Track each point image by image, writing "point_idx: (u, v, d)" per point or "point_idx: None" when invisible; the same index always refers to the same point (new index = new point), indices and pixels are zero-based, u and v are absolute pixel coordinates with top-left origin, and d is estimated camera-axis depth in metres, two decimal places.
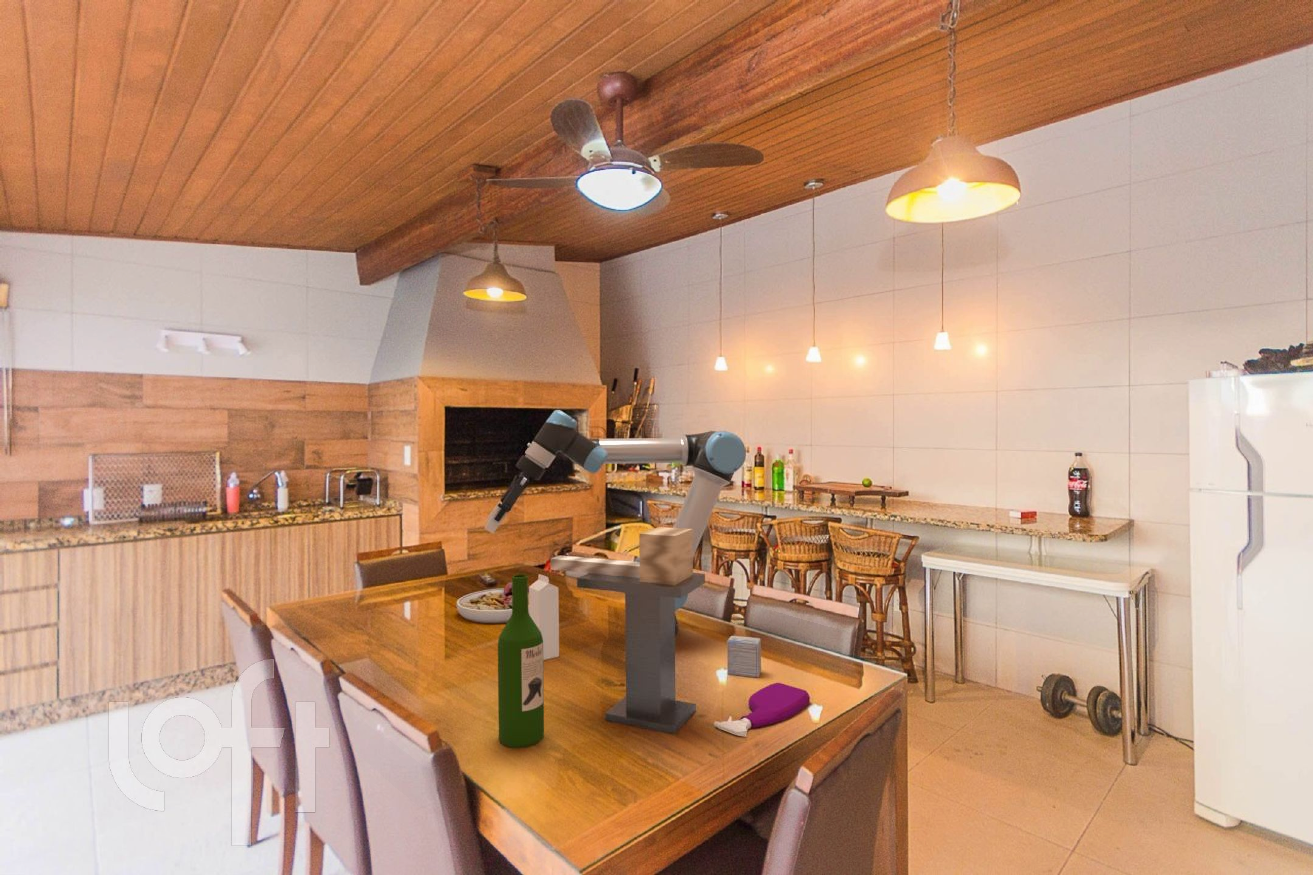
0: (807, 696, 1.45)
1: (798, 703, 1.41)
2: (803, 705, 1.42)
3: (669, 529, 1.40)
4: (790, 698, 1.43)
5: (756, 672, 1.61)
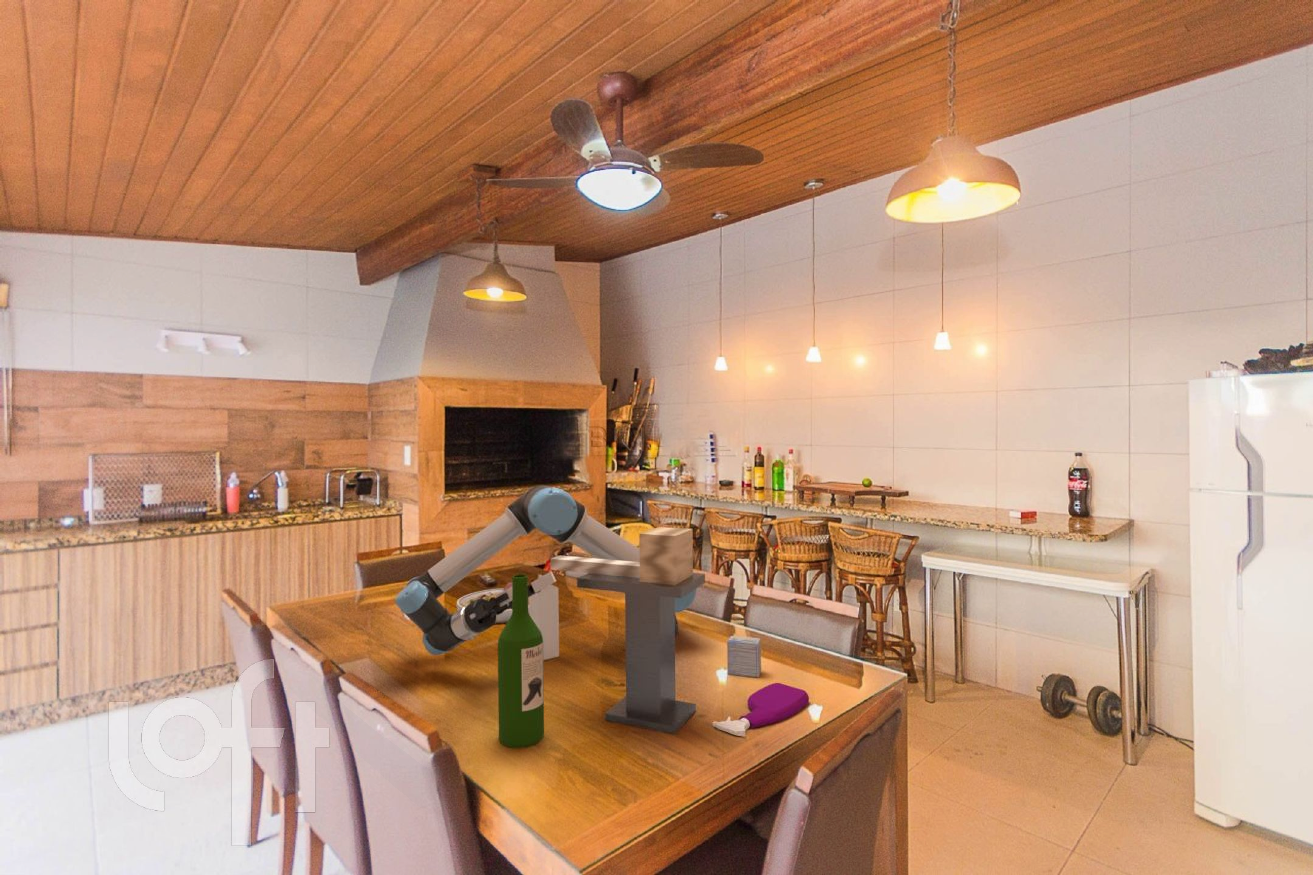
0: (806, 696, 1.45)
1: (797, 703, 1.41)
2: (802, 705, 1.42)
3: (669, 529, 1.40)
4: (789, 698, 1.43)
5: (756, 672, 1.61)
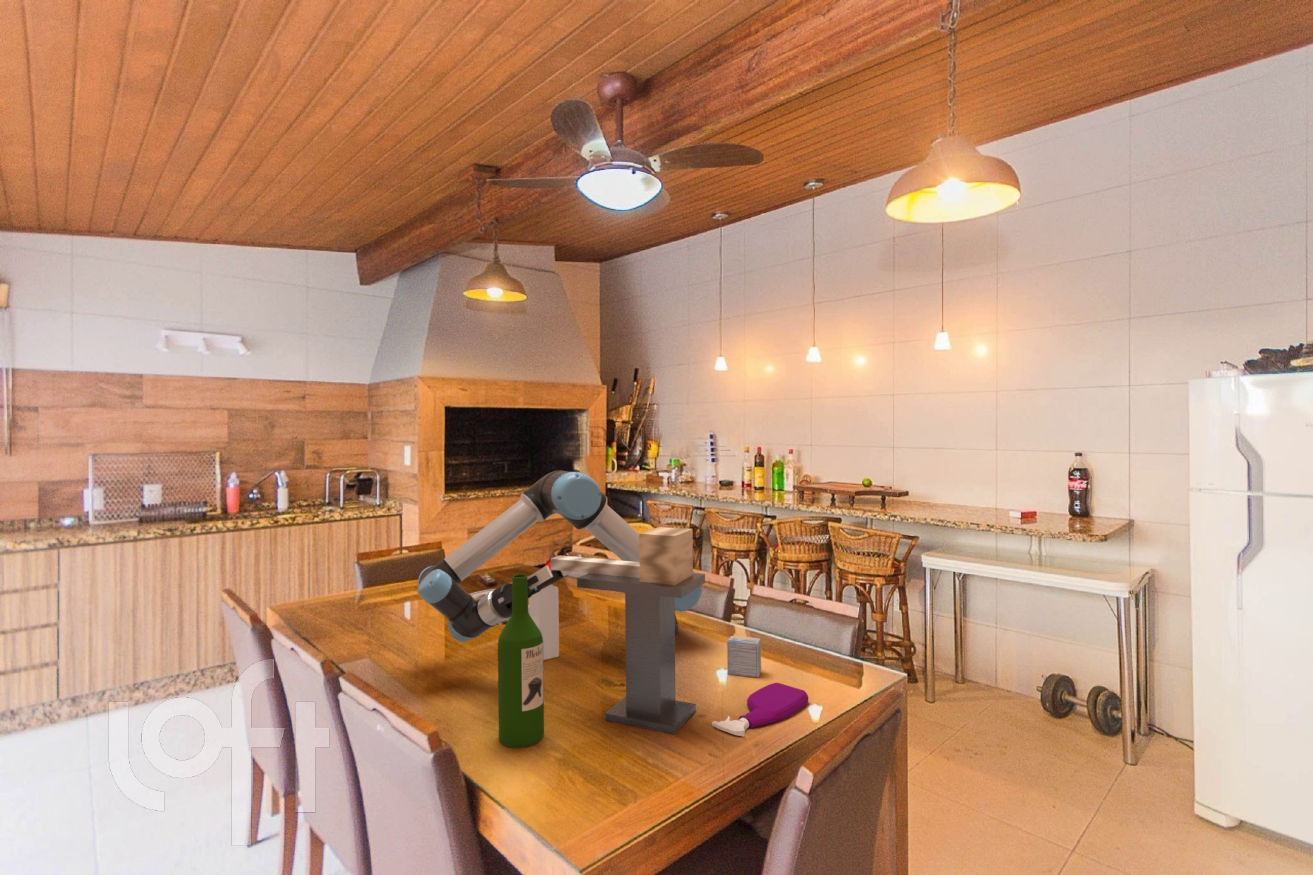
0: (806, 696, 1.45)
1: (796, 703, 1.41)
2: (801, 705, 1.42)
3: (669, 529, 1.40)
4: (788, 698, 1.43)
5: (756, 672, 1.61)
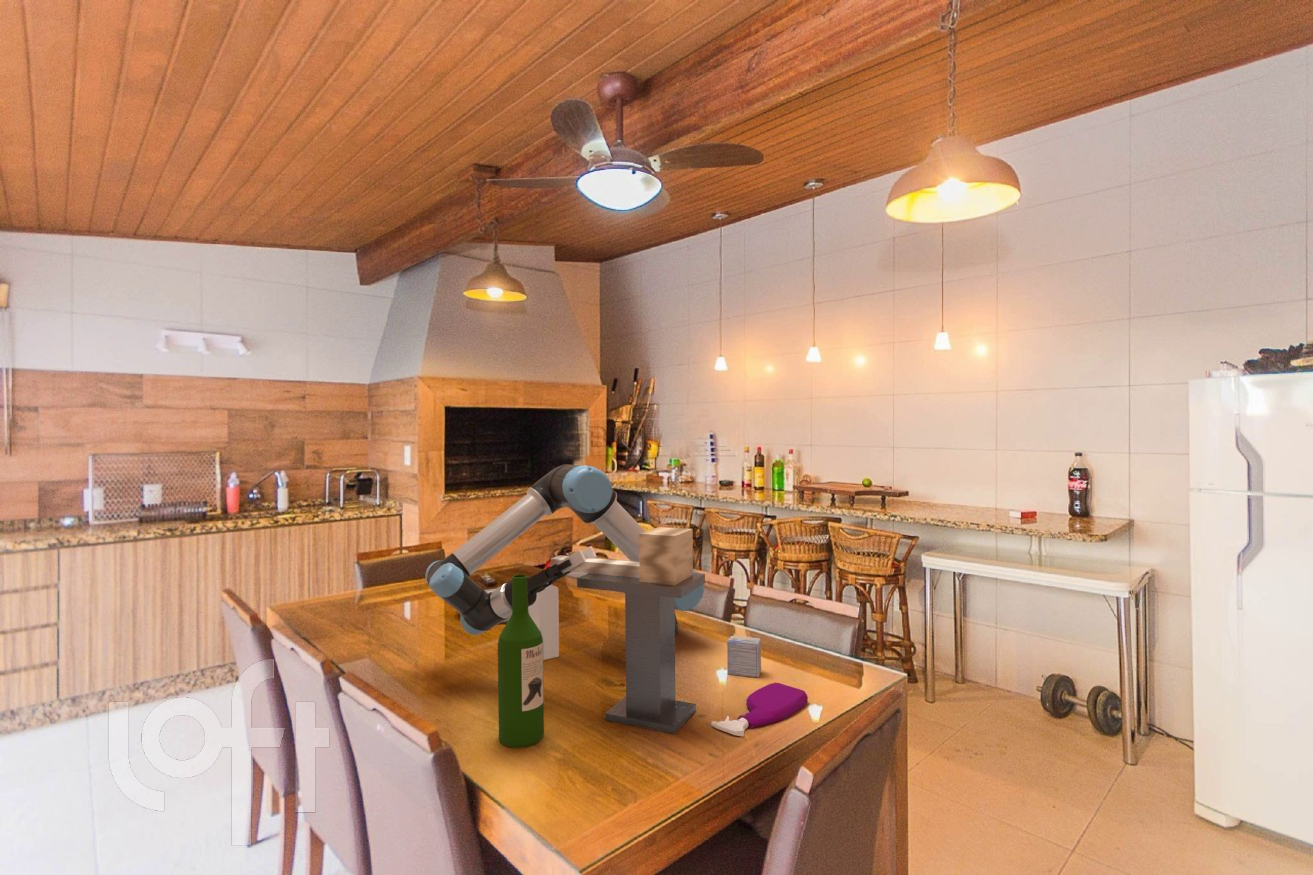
0: (805, 696, 1.45)
1: (796, 703, 1.41)
2: (801, 705, 1.42)
3: (669, 529, 1.40)
4: (788, 698, 1.43)
5: (756, 672, 1.61)
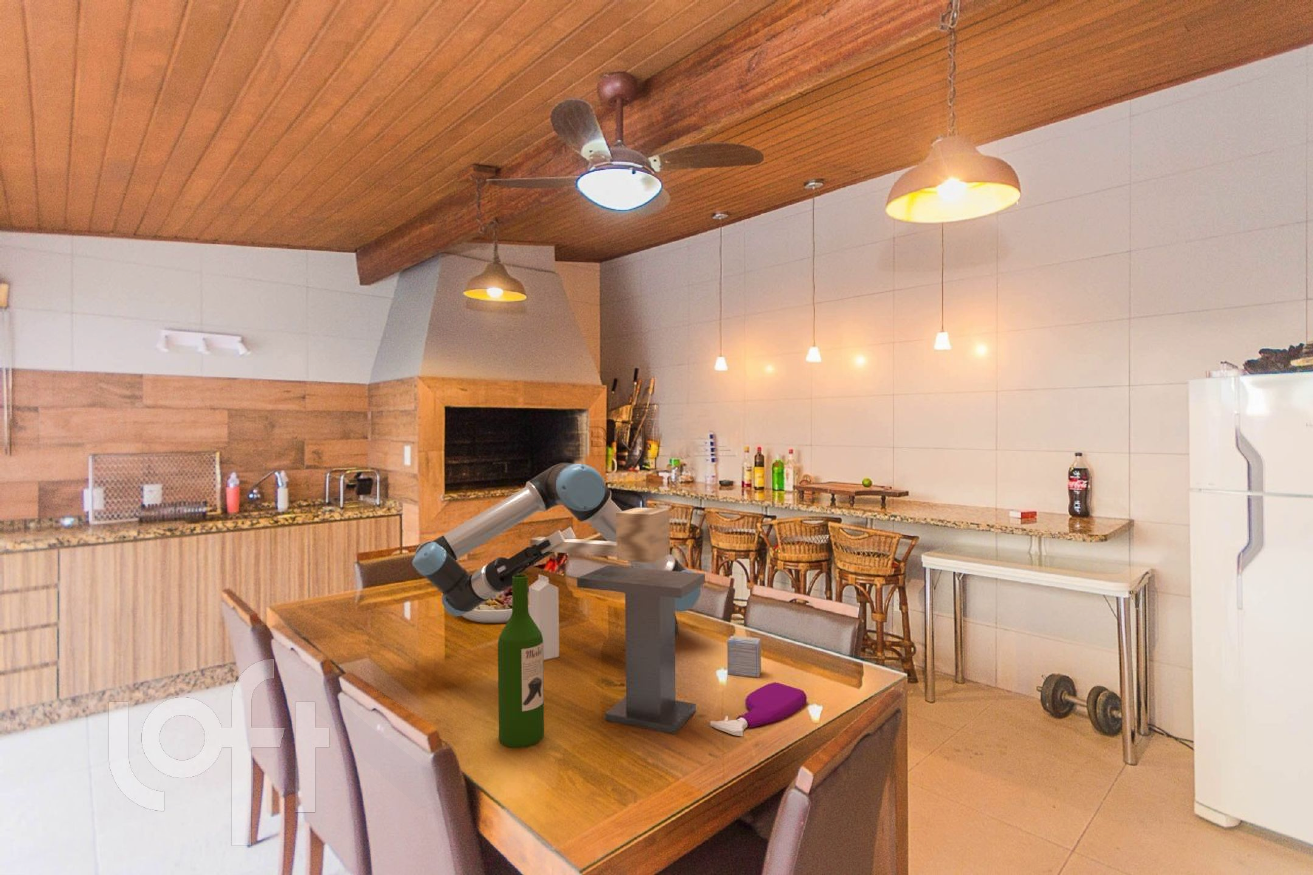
0: (804, 696, 1.45)
1: (795, 703, 1.41)
2: (800, 705, 1.42)
3: (646, 509, 1.42)
4: (787, 697, 1.43)
5: (756, 672, 1.61)
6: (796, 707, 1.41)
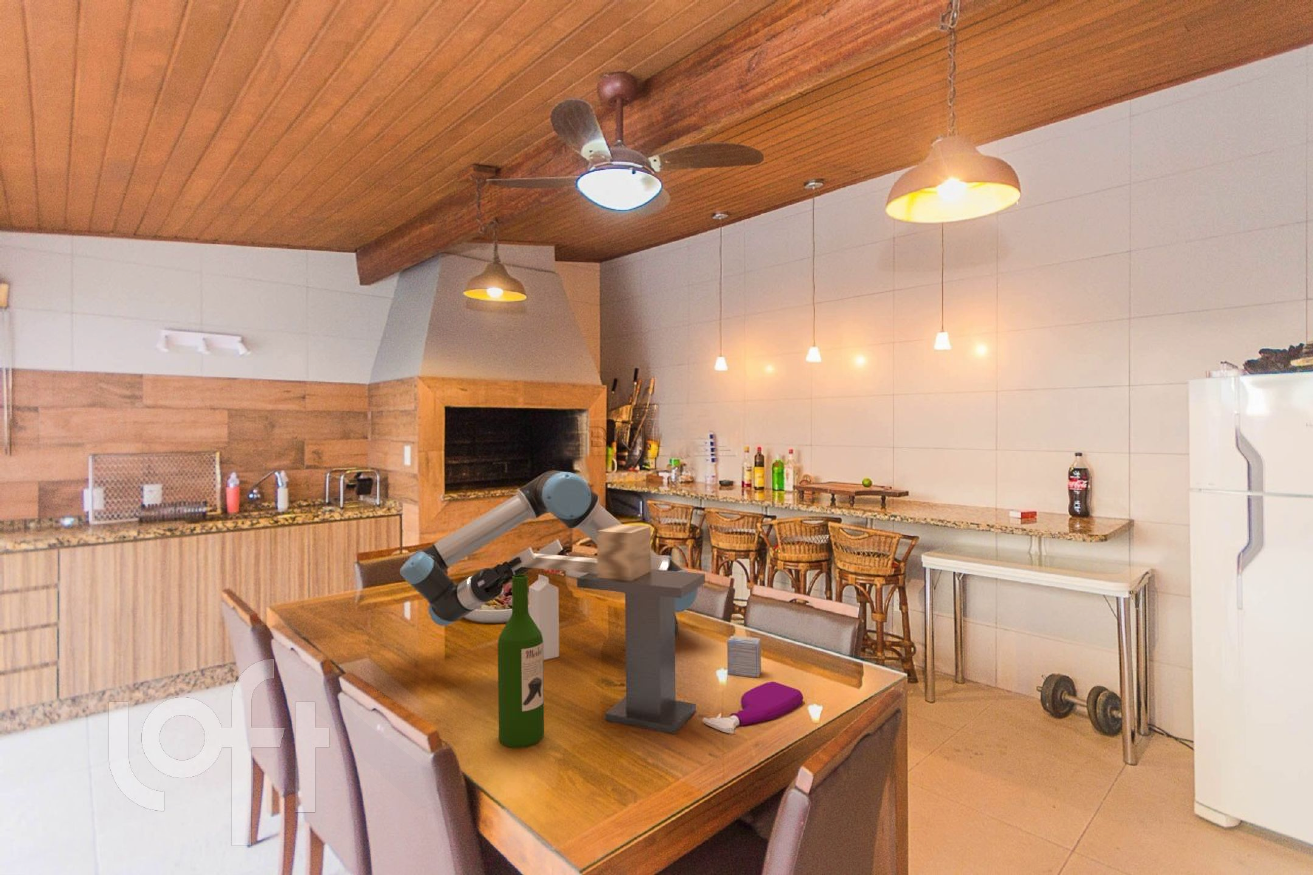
0: (800, 696, 1.45)
1: (790, 702, 1.41)
2: (795, 704, 1.43)
3: (627, 527, 1.44)
4: (782, 697, 1.43)
5: (756, 672, 1.61)
6: (791, 706, 1.41)
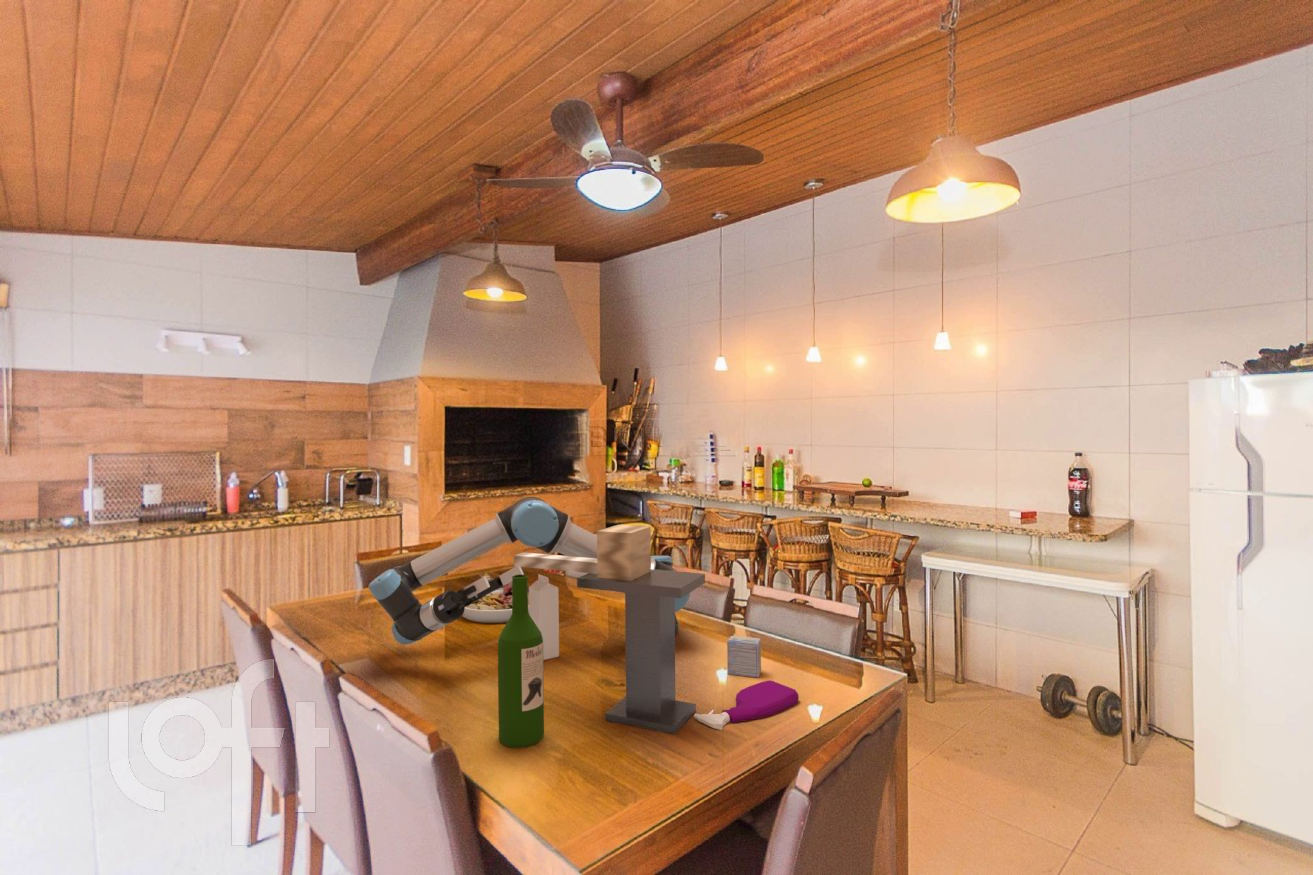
0: (795, 695, 1.45)
1: (783, 701, 1.42)
2: (789, 704, 1.43)
3: (627, 527, 1.44)
4: (776, 696, 1.44)
5: (756, 672, 1.61)
6: (784, 705, 1.42)
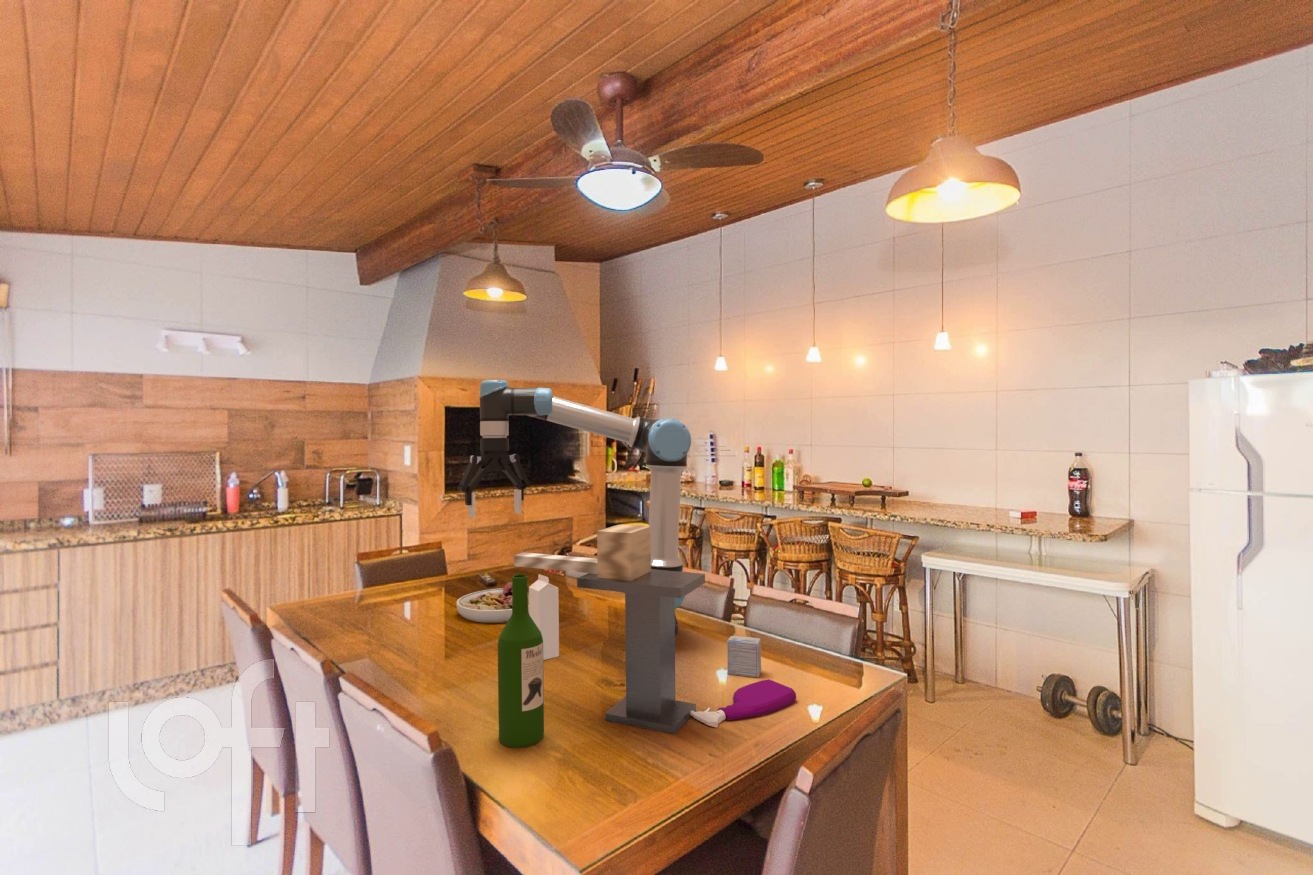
0: (792, 694, 1.46)
1: (780, 700, 1.43)
2: (786, 703, 1.43)
3: (627, 527, 1.44)
4: (773, 694, 1.44)
5: (756, 672, 1.61)
6: (781, 704, 1.42)
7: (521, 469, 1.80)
